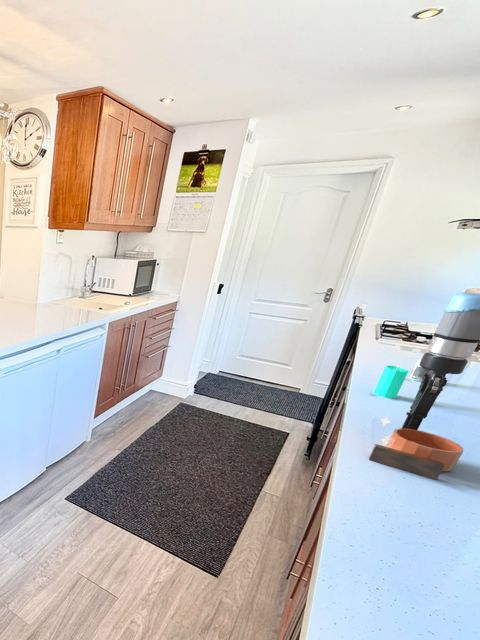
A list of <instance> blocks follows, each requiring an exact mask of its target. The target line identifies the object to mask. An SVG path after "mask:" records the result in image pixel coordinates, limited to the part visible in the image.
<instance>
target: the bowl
mask: <svg viewBox="0 0 480 640" xmlns="http://www.w3.org/2000/svg"><path fill="white" fill-rule="evenodd" d="M385 447H388V448H392V449H395V450H399V451H403V452H406V453H410V454H413V455H417V456H420V457H424V458H427V459H431V460H434V461H438V462H441V463H444V468H443V470H442V472H450V471H453V470H454V469H455V467H456V465H457V463H458V461H459V459H460V458H461V457H462V455H463V453H464V447H462V446H461V445H460V444H459V443H457V442H454V441H453V440H451V439H448V438H446V437H443V436H441V435H438V434H434V433H430V432H428V431H424V430H419V429H418V430H413V429H405V428H402V427H400V428H394V429H393V432H392V433H391V436H390V437H389V439H388V441H387V443H386V446H385Z"/></svg>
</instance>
